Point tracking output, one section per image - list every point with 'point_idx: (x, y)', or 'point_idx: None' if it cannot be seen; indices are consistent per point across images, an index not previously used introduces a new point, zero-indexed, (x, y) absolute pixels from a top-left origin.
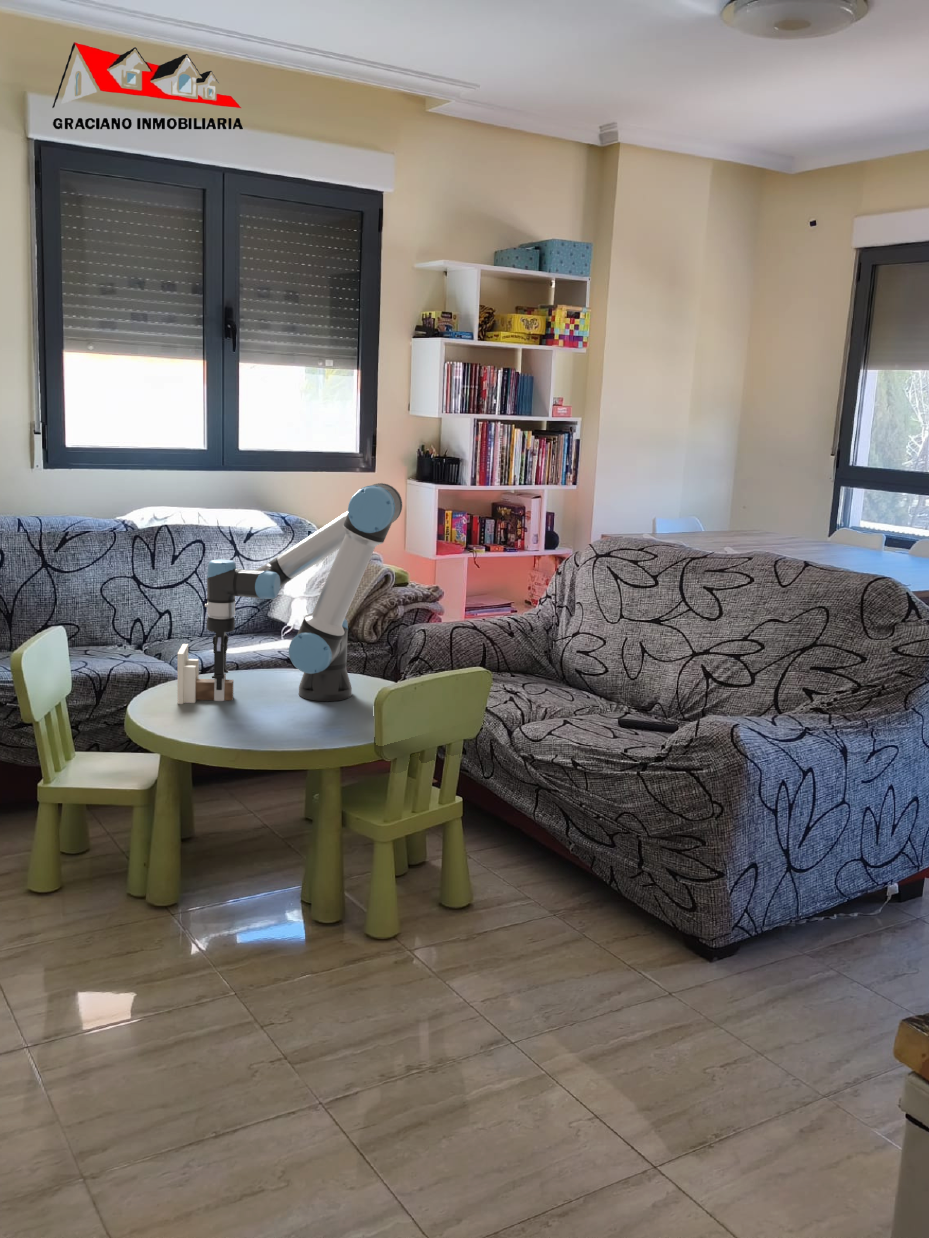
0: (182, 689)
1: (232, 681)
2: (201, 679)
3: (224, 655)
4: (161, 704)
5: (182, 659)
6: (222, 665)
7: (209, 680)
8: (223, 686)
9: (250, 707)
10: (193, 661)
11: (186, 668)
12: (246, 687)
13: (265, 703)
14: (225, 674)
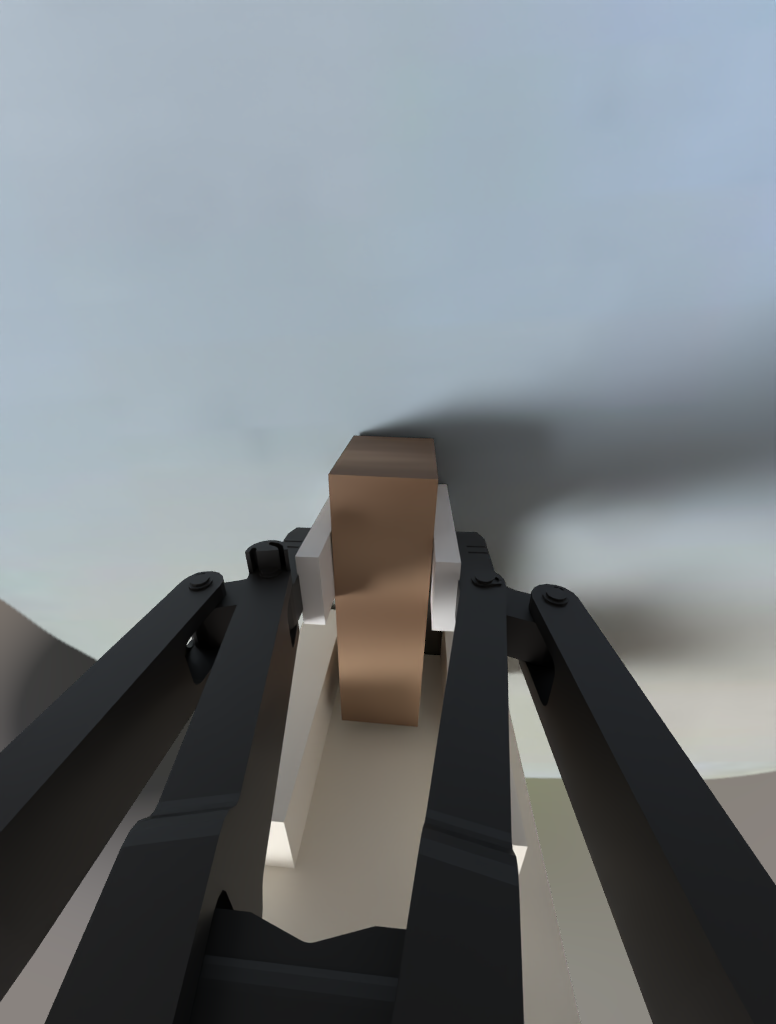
0: (511, 728)
1: (390, 479)
2: (351, 669)
3: (258, 736)
4: None
5: (579, 1020)
6: (646, 710)
7: (372, 629)
8: (453, 531)
9: (610, 294)
10: (291, 833)
11: None
12: (99, 362)
13: (508, 160)
14: (318, 556)
